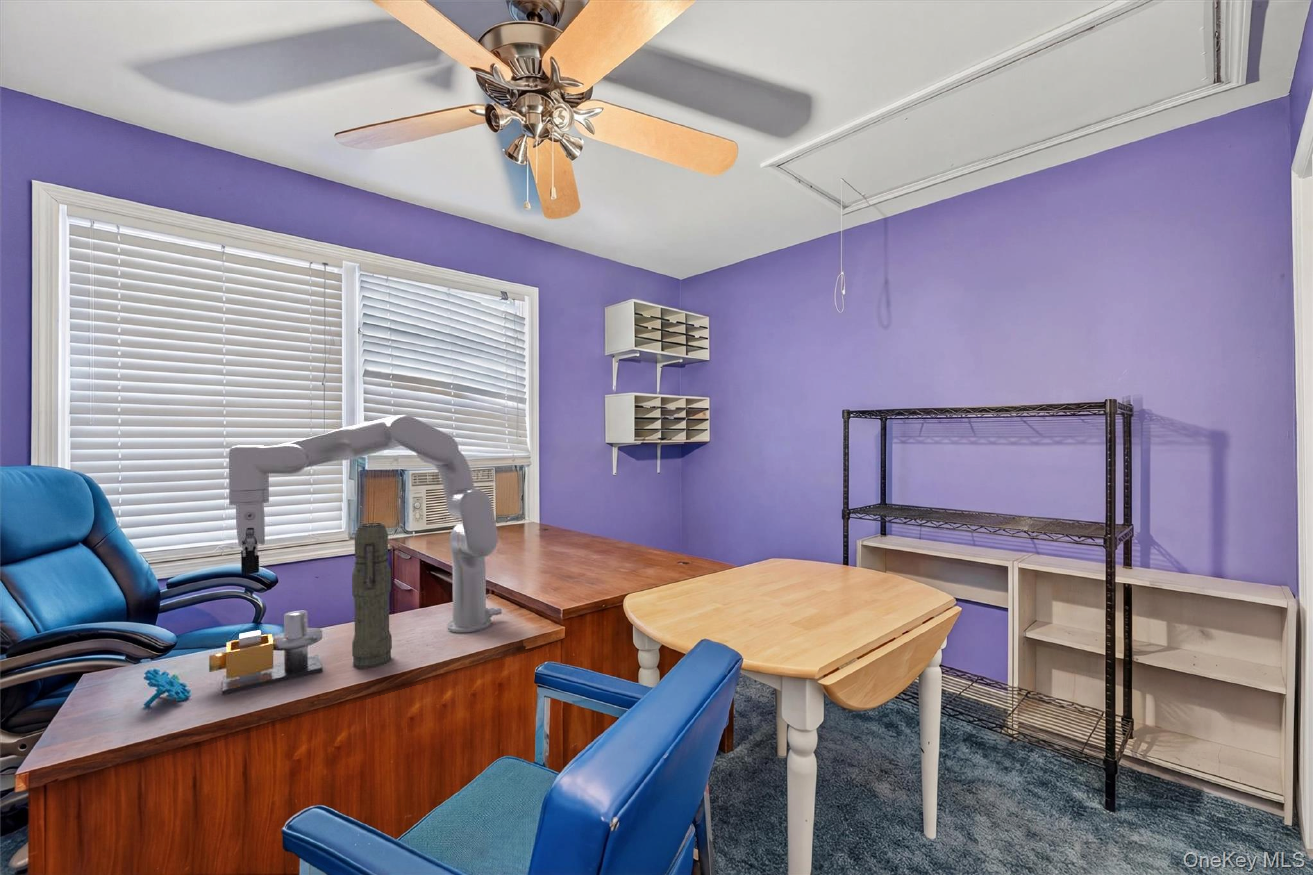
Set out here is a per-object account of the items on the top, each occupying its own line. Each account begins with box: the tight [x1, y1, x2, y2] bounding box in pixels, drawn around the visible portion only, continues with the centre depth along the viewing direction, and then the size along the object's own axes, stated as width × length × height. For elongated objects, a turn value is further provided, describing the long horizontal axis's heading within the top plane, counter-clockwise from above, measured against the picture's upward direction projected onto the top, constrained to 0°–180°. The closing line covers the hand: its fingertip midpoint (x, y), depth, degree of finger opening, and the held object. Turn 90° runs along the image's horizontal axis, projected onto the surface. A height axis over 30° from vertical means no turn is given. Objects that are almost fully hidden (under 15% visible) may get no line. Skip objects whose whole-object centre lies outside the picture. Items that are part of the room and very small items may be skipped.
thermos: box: [351, 522, 393, 669], centre depth 135 cm, size 9×12×35 cm
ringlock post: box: [208, 609, 324, 696], centre depth 127 cm, size 22×11×14 cm, turn 128°
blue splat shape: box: [143, 668, 192, 708], centre depth 115 cm, size 11×6×10 cm
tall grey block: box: [238, 629, 262, 682], centre depth 125 cm, size 4×4×10 cm
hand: (249, 569), depth 125 cm, fingers open, 9 cm apart
